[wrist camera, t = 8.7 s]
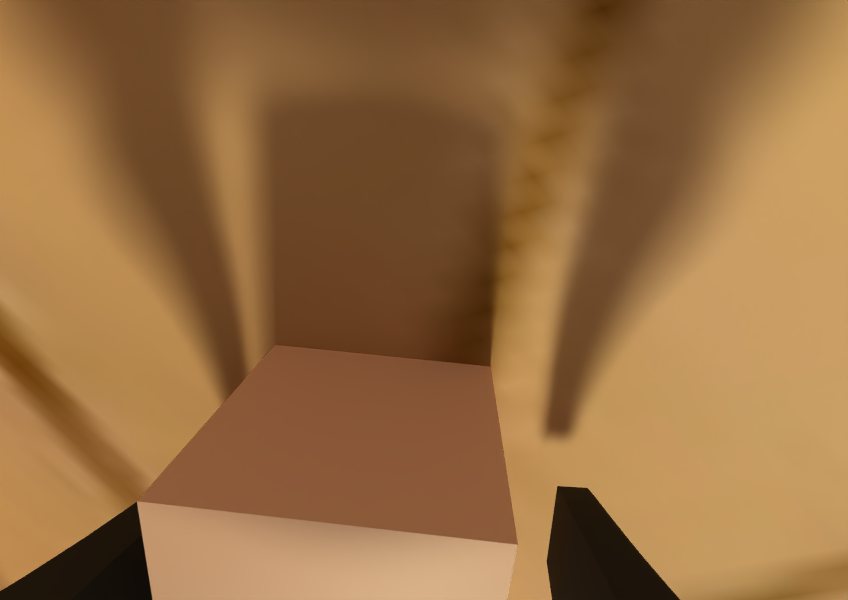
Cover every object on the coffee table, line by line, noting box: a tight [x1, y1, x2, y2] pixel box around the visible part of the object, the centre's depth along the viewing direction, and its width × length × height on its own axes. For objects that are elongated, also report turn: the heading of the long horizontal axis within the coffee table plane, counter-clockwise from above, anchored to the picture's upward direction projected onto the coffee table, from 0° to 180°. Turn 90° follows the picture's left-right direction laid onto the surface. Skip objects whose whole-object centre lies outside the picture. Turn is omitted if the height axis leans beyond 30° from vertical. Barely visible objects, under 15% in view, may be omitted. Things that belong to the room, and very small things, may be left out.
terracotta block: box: [137, 345, 518, 600], centre depth 9 cm, size 5×5×5 cm
